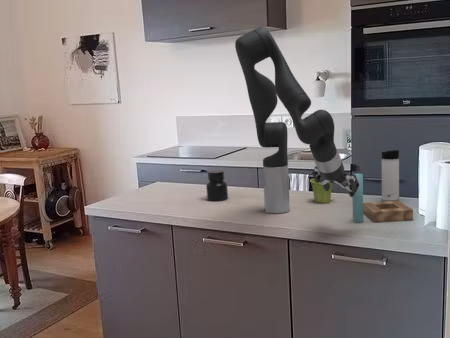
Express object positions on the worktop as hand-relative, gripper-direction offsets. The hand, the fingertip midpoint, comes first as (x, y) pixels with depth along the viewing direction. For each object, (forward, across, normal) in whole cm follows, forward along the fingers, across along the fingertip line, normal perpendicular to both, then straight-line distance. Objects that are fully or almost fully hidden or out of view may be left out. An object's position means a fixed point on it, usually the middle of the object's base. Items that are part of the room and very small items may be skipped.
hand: (340, 191), depth 158 cm
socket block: (+19, +10, +6) cm, 23 cm away
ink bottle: (+24, -60, -4) cm, 65 cm away
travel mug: (+34, +5, +20) cm, 40 cm away
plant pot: (+29, -18, +10) cm, 36 cm away
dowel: (+13, +4, -2) cm, 14 cm away
